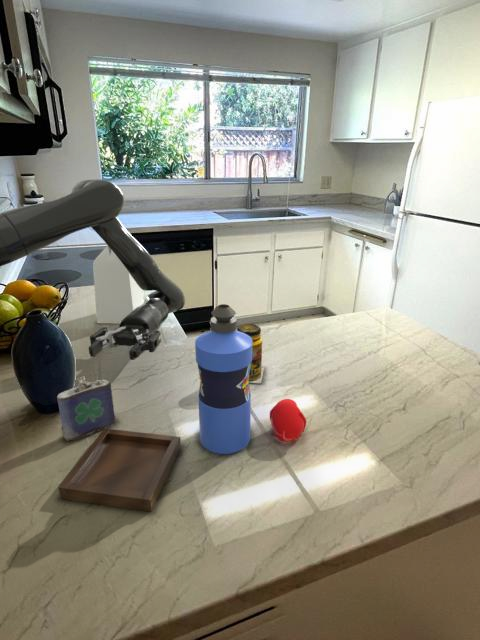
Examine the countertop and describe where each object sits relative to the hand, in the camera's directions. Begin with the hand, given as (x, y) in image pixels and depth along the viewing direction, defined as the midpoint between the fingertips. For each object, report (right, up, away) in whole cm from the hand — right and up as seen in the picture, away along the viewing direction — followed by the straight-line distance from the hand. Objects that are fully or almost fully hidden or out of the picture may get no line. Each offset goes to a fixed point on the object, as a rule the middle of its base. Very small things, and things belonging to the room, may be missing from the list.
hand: (111, 354), depth 80 cm
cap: (+35, -14, -7) cm, 38 cm away
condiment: (+27, -6, +13) cm, 30 cm away
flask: (-2, -14, -6) cm, 15 cm away
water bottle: (+23, -14, -8) cm, 28 cm away
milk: (-12, +8, +47) cm, 49 cm away
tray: (+8, -17, -16) cm, 25 cm away
